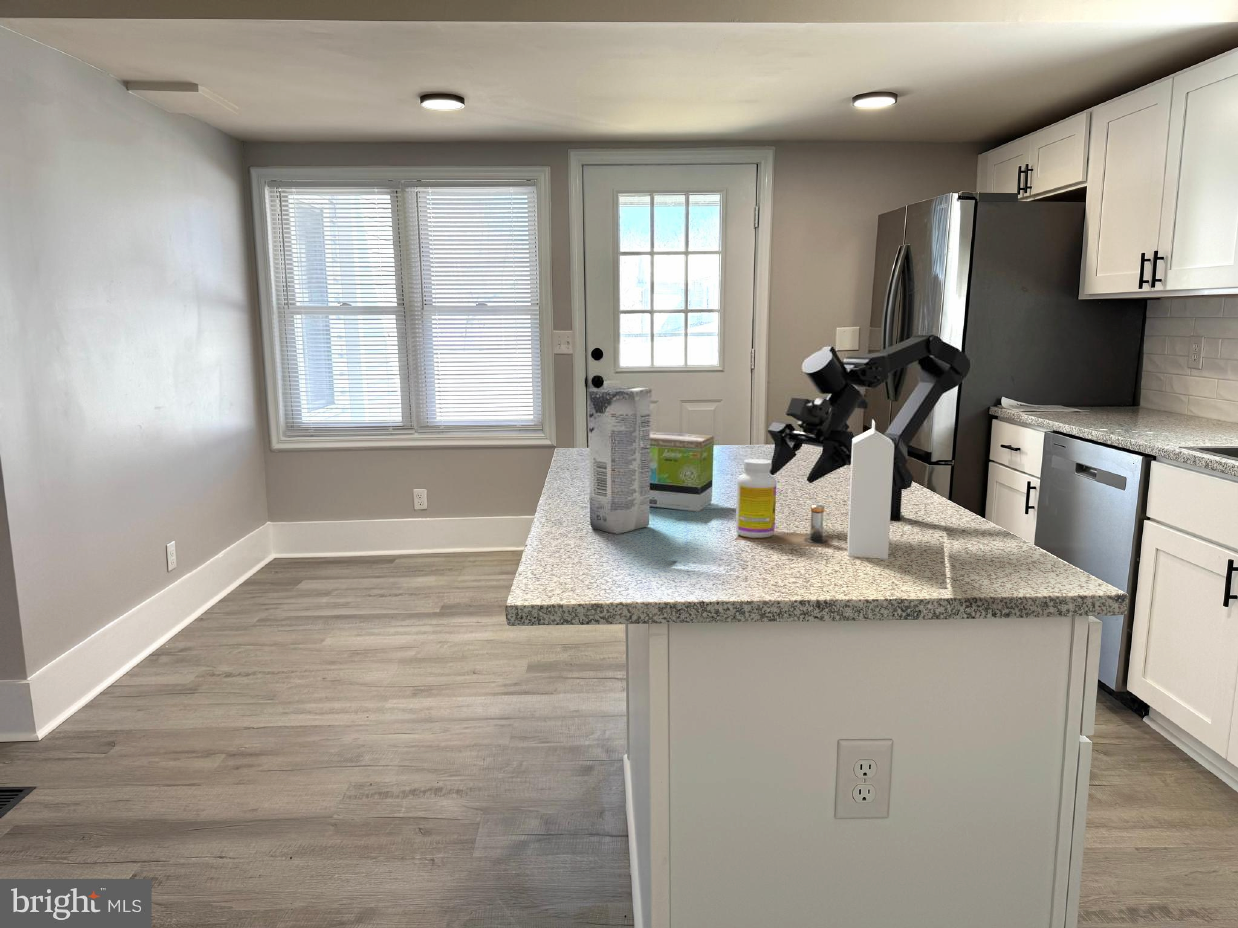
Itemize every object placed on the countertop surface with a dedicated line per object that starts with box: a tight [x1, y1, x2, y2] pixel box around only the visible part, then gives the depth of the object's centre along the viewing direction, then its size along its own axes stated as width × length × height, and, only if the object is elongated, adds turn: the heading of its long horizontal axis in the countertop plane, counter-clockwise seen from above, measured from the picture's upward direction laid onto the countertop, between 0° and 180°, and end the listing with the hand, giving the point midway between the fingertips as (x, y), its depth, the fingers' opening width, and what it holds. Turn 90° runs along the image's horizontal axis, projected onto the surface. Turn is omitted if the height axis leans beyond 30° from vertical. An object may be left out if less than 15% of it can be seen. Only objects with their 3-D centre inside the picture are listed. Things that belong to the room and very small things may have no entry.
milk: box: [846, 419, 894, 560], centre depth 126 cm, size 6×6×22 cm
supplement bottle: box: [735, 458, 777, 538], centre depth 138 cm, size 7×7×13 cm
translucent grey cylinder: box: [809, 503, 825, 542], centre depth 134 cm, size 2×2×6 cm
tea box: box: [649, 431, 715, 513], centre depth 167 cm, size 15×10×15 cm, turn 68°
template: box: [734, 530, 835, 549], centre depth 137 cm, size 16×8×1 cm, turn 69°
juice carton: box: [587, 380, 652, 535], centre depth 146 cm, size 9×10×27 cm
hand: (789, 477), depth 141 cm, fingers open, 9 cm apart
